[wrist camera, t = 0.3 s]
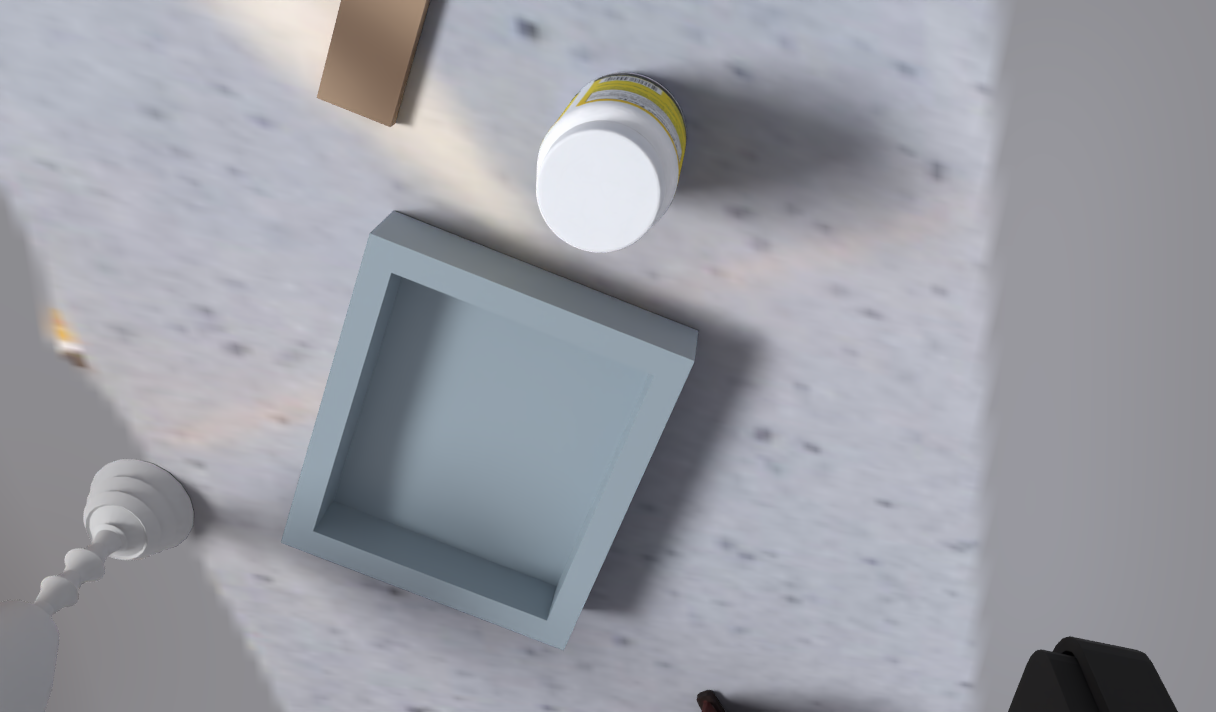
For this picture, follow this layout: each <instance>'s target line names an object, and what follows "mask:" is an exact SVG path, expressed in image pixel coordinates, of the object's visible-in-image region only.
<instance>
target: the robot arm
mask: <svg viewBox="0 0 1216 712" xmlns="http://www.w3.org/2000/svg"><path fill="white" fill-rule="evenodd" d="M1008 712H1178V711H1177V709H1176V707H1175V705H1174V703H1173V702H1172V700H1171V698H1170V696H1169V694H1168V692H1167V690H1166V688H1165V686H1164V684H1163V683H1162V681H1161V679H1160V677H1159V675H1158V673H1157V671H1156V669H1155V667H1154V665H1153V663H1152V662H1151V660H1149V658H1148V656H1147V655H1146V654H1145V653H1143V652H1141V651H1138V650H1134V649H1129V648H1124V647H1119V646H1115V645H1110V644H1105V643H1100V642H1095V641H1089V640H1085V639H1080V638H1074V637H1066V638H1063V639H1062V640H1061V641H1060V642H1059V643H1058V644H1057V645H1056V646H1055V648H1054V650H1053V652H1050V651H1046V650H1037V651H1035V652H1034V653H1033V654H1032V656H1031V657H1030V659H1029V661H1028V663H1027V665H1026V668H1025V670H1024V673H1023V675H1022V678H1021V680H1020V683H1019V685H1018V688H1017V690H1016V693H1015V695H1014V698H1013V701H1012V703H1011V706H1010V708H1009V711H1008Z"/></svg>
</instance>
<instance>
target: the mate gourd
mask: <svg viewBox="0 0 1216 712" xmlns="http://www.w3.org/2000/svg"><path fill="white" fill-rule="evenodd" d="M697 702H698V704H699V706H700V708H701V710H702V712H725V710H724V709H723V707H722V705H721V704H720V702H719V700H718V699H717V697H716V696H715V694H714V693H713V692H712V690H706V691H703V692H700V693H699V694H698V695H697Z"/></svg>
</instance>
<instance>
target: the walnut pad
mask: <svg viewBox="0 0 1216 712" xmlns="http://www.w3.org/2000/svg"><path fill="white" fill-rule="evenodd" d="M429 3H430V0H341V3H340V7H339V11H338V15H337V19H336V23H335V27H334V31H333V35H332V39H331V43H330V47H329V51H328V55H327V59H326V63H325V67H324V71H323V75H322V79H321V83H320V87H319V91H318V95H317V98H319V99H321V100H324V101H326V102H329V103H331V104H334V105H336V106H339V107H341V108H344V109H346V110H349V111H351V112H354V113H356V114H359V115H361V116H364V117H366V118H369V119H371V120H374V121H376V122H379V123H381V124H384V125H386V126H389V127H391V126H393V125H394V124H395V122H396V119H397V115H398V112H399V108H400V105H401V101H402V98H403V94H404V91H405V87H406V84H407V80H408V77H409V73H410V70H411V66H412V62H413V59H414V55H415V52H416V48H417V45H418V41H419V38H420V34H421V31H422V27H423V24H424V20H425V17H426V13H427V10H428V6H429Z"/></svg>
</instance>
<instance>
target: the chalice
mask: <svg viewBox="0 0 1216 712" xmlns="http://www.w3.org/2000/svg"><path fill="white" fill-rule="evenodd" d="M193 518H194V511H193V508H192V504H191V500H190V498H189V496H188V494H187V493H186V491H185V490H184V488H183V486H182V485H181V484H180V483H179V482H178V481H177V480H176V479H175V478H174V477H173V476H172V475H171V474H170V473H168V472H167V471H165V470H163V469H161V468H160V467H158V466H156V465H154V464H152V463H148V462H145V461H141V460H137V459H121V460H117V461H114V462H111V463H109V464H106V465H105V466H104V467H103V468H102V469H100V470H99V471H98V472H97V473H96V475H95V477H94V479H93V482H92V484H91V491H90V494H89V496H88V498H87V505H86V507H85V509H84V524H85V527H86V530H87V533H88V536H89V538H90V540H91V541H92V543H91V545H89V546H87V547H86V548H84V549H82V548H81V549H80V548H79V549H78V548H77V549H73V550H70V551H69V552H68V553H67V554H66V556H65V565H66V568H65V570H64V572H63V573H61V574H59V575H57V576H49V577H46V578H45V579H44V580H43V581H42V583H41V592H40V594H39V595H38V597H37V598H36V600H35V602H34V603H33V604H32V603H29V602H25V601H22V600H7V601H3V602H0V712H45V709H46V706H47V703H48V700H49V697H50V694H51V691H52V686H53V679H54V672H55V666H56V659H57V652H58V645H59V630H58V628H57V625H56V623H55V622H54V621H53V619H52V618H51V617H52V615H53V614H55V613H56V612H58V611H59V610H60V609H62V608H64V607H70V606H73V605H74V604H76V603H77V601H78V599H79V593H78V591H79V589H80V586H81V584H83V583H85V582H95V581H98V580H100V579H101V578H102V577H103V575H104V574H105V567H104V562H105V560H106V558H107V556H110V557H113V558H116V559H120V560H140V559H143V558H146V557H149V556H150V555H153V554H156V553H160V552H162V551H163V550H167V549H170V548H173V547H176V546H178V545H179V544H180V543H181V542H182V541H184V540H185V539H186V538H187V537H188V535H189V533H190V531H191V529H192V527H193Z"/></svg>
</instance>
